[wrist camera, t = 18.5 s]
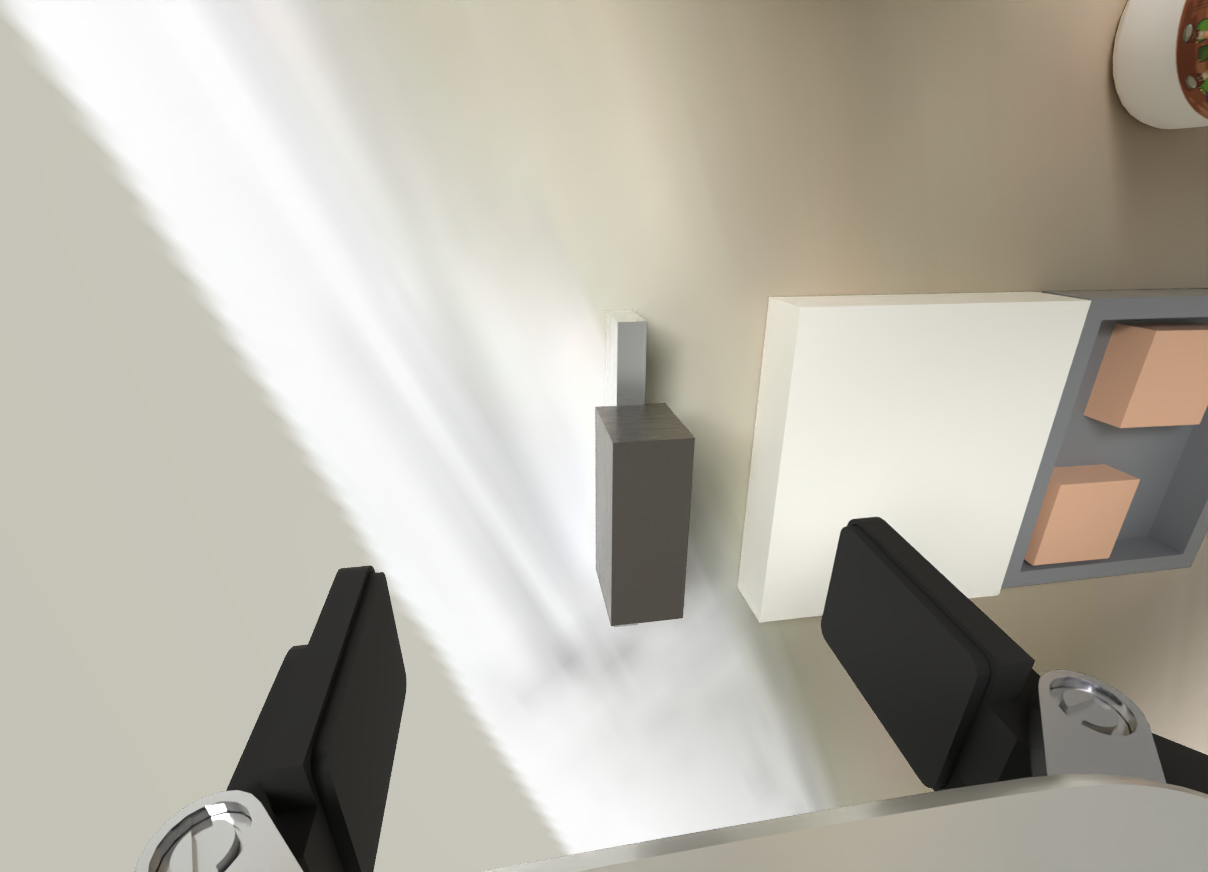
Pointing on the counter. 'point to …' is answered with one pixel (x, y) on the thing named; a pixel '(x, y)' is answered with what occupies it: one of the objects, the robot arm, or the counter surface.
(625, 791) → the counter surface
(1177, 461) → the tray
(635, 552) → the dark block with bar
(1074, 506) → the tile
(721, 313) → the counter surface
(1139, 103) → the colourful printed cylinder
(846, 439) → the offwhite board
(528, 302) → the counter surface
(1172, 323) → the tile
